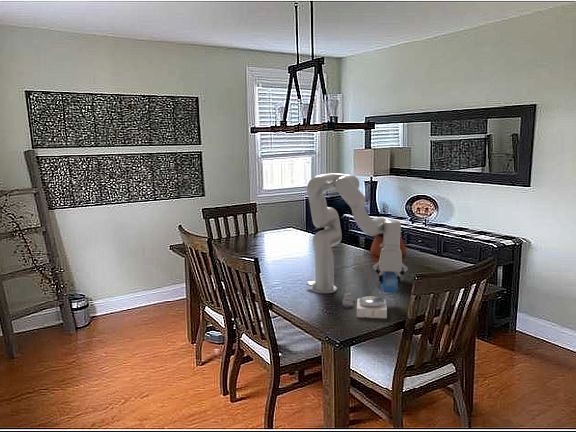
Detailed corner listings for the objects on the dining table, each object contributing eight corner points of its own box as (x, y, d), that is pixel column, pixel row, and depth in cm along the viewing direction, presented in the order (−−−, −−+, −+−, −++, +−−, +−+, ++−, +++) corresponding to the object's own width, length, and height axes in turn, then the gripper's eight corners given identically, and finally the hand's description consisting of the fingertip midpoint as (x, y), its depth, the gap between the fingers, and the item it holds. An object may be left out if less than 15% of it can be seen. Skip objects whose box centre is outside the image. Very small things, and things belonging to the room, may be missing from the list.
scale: (356, 317, 207) (356, 308, 206) (357, 306, 220) (357, 297, 219) (386, 319, 205) (386, 309, 204) (385, 307, 218) (385, 298, 217)
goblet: (412, 278, 259) (413, 234, 254) (391, 286, 246) (392, 240, 242) (384, 271, 273) (385, 229, 269) (363, 279, 261) (363, 235, 256)
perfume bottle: (393, 287, 225) (395, 263, 222) (397, 292, 218) (398, 267, 216) (380, 287, 224) (382, 263, 222) (383, 292, 218) (385, 267, 216)
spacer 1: (343, 302, 226) (343, 296, 226) (343, 298, 231) (343, 292, 231) (353, 302, 225) (353, 296, 225) (353, 299, 230) (353, 293, 230)
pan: (359, 306, 208) (359, 304, 207) (359, 297, 218) (359, 295, 218) (384, 307, 206) (384, 305, 206) (383, 298, 216) (383, 296, 216)
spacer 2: (342, 307, 219) (342, 301, 219) (342, 303, 224) (342, 297, 224) (353, 308, 219) (353, 301, 218) (353, 304, 224) (353, 298, 223)
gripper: (372, 248, 215) (370, 284, 219) (411, 250, 212) (408, 287, 216) (372, 243, 222) (370, 279, 226) (409, 245, 219) (407, 282, 223)
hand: (389, 283), depth 221 cm, fingers closed on perfume bottle, 7 cm apart
